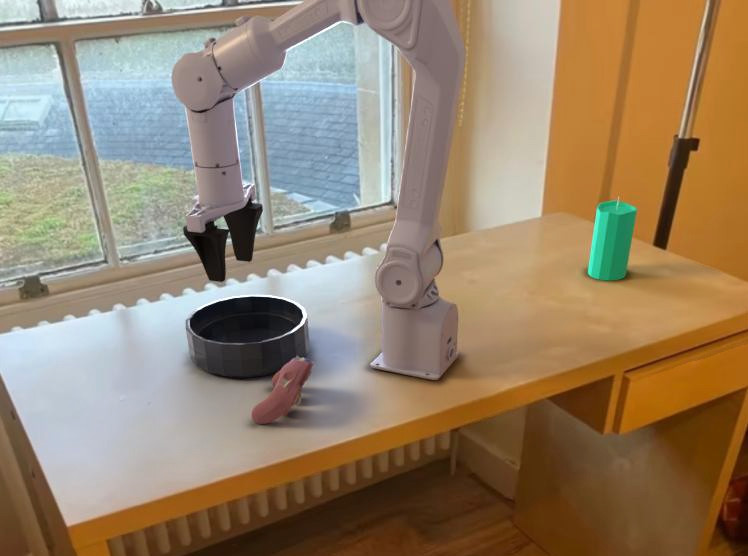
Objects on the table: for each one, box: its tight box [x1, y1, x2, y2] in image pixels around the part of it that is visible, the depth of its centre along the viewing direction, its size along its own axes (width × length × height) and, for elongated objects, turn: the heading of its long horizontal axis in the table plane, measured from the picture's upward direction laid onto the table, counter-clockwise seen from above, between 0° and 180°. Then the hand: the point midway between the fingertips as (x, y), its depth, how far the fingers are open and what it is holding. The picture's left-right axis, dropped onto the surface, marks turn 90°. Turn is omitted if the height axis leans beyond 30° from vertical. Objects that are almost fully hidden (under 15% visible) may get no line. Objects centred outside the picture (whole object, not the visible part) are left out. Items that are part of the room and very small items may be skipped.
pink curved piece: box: [250, 356, 314, 425], centre depth 96 cm, size 10×5×7 cm, turn 168°
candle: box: [587, 196, 638, 281], centre depth 126 cm, size 6×6×12 cm
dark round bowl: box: [185, 294, 311, 379], centre depth 108 cm, size 16×16×5 cm
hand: (231, 270), depth 107 cm, fingers open, 7 cm apart
